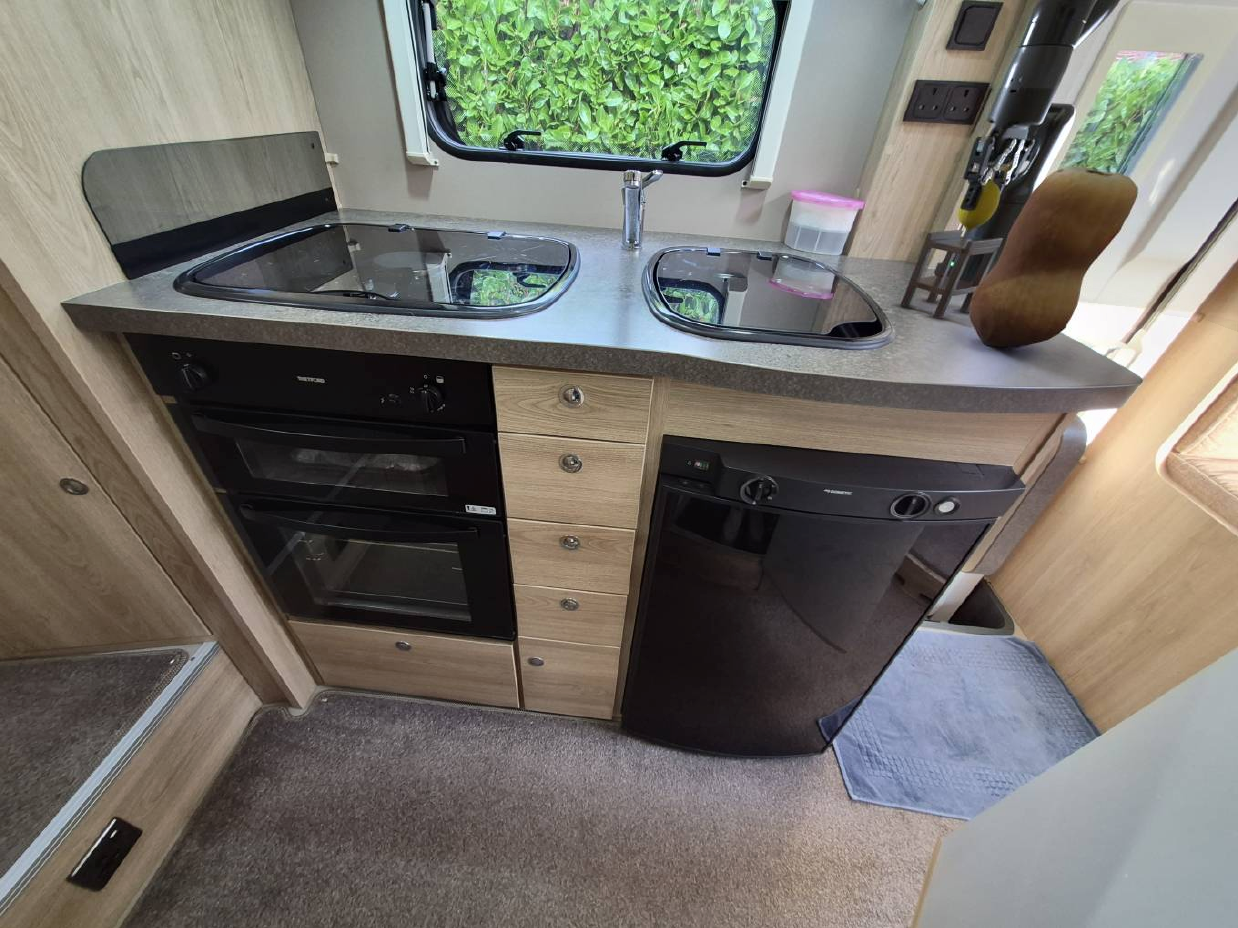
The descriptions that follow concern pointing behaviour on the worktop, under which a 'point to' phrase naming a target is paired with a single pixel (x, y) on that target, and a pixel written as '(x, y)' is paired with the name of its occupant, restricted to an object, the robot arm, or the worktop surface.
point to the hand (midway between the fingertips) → (976, 208)
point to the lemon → (981, 207)
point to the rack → (951, 284)
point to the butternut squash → (1050, 256)
